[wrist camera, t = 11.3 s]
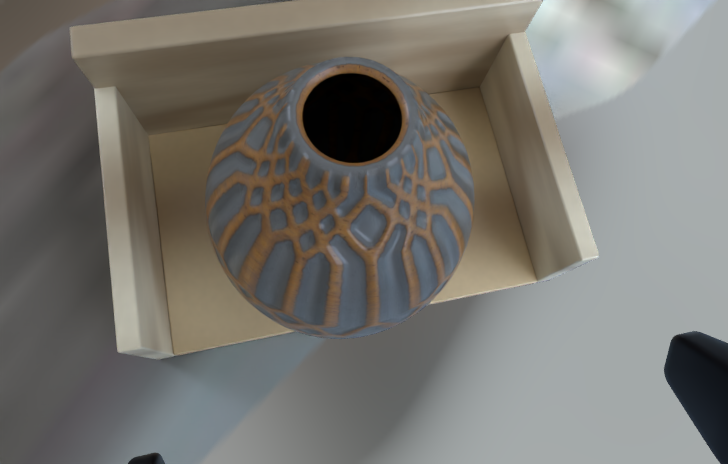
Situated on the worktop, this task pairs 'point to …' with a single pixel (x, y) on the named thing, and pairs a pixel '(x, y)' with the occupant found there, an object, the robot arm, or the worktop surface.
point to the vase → (339, 199)
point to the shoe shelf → (264, 63)
